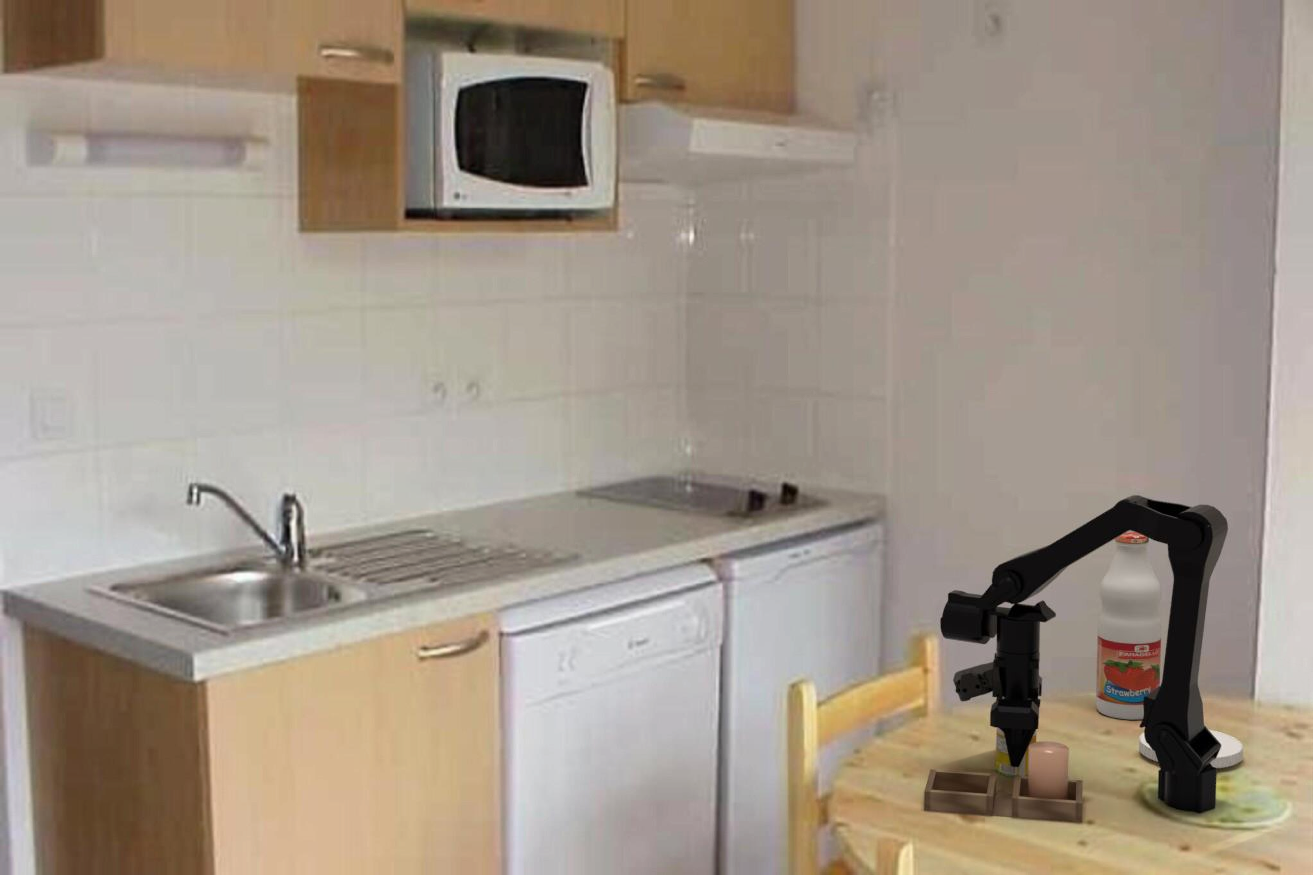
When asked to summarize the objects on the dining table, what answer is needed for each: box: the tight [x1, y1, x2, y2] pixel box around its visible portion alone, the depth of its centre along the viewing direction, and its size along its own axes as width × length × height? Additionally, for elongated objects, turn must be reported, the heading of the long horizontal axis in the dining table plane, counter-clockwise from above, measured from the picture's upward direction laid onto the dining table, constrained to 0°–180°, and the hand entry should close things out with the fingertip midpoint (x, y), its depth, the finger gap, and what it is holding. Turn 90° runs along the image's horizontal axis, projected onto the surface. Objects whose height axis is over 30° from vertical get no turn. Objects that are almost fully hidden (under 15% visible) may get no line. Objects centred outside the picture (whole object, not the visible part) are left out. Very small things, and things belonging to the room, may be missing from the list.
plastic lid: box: [1138, 729, 1244, 769], centre depth 231 cm, size 14×14×2 cm
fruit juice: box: [1095, 530, 1162, 721], centre depth 250 cm, size 9×9×28 cm
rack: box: [923, 768, 1084, 824], centre depth 210 cm, size 20×9×4 cm, turn 75°
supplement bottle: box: [995, 727, 1037, 778], centre depth 223 cm, size 5×5×10 cm
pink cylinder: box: [1028, 740, 1070, 800], centre depth 209 cm, size 5×5×8 cm
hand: (1015, 759), depth 223 cm, fingers closed on supplement bottle, 5 cm apart
